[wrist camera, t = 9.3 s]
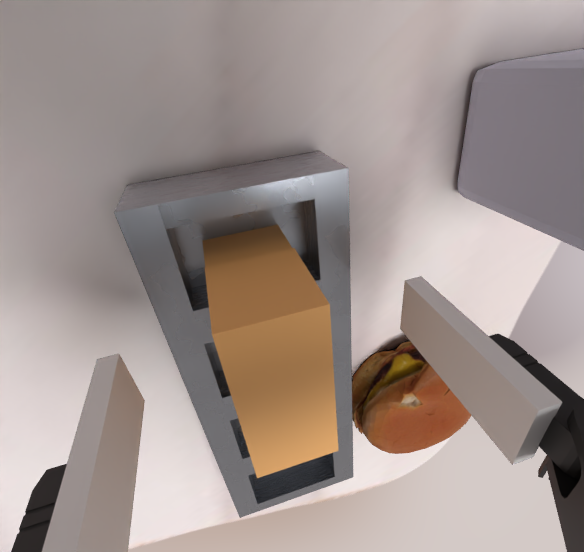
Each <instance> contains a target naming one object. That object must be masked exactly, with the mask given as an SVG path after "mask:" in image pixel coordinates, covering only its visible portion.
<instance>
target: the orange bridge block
mask: <svg viewBox="0 0 584 552" xmlns="http://www.w3.org/2000/svg"><path fill="white" fill-rule="evenodd" d="M202 242H203V251H204V260H205V276H206V285H207V294H208V303H209V312H210V321H211V330H212V336H213V340H214V343H215V346H216V349H217V352H218V355H219V359H220V362H221V365H222V368H223V371H224V374H225V378H226V381H227V384H228V387H229V390H230V394H231V397H232V400H233V403H234V406H235V409H236V413H237V416H238V419H239V422H240V425H241V428H242V432H243V435H244V438H245V441H246V444H247V447H248V451H249V454H250V457H251V460H252V463H253V466H254V470H255V473H256V476H257V478H259V477H262V476H265V475H268V474H271V473H274V472H277V471H280V470H283V469H286V468H289V467H292V466H295V465H298V464H301V463H304V462H307V461H310V460H313V459H316V458H318V457H321V456H324V455H327V454H330V453H333V452H336V451H339V450H338V434H337V417H336V400H335V384H334V367H333V351H332V334H331V317H330V304H329V302H328V301H327V299H326V297H325V296H324V294H323V293H322V291H321V290H320V288H319V286H318V285H317V283H316V282H315V280H314V278H313V277H312V275H311V274H310V272H309V270H308V269H307V267H306V266H305V264H304V262H303V261H302V259H301V258H300V256H299V254H298V253H297V251H296V250H295V248H292V247H291V245H290V244H289V242H288V240H287V239H286V237H285V235H284V234H283V232H282V231H281V229H280V227H279V226H278V225H273V226H268V227H264V228H259V229H254V230H250V231H245V232H240V233H235V234H231V235H226V236H221V237H217V238H212V239H207V240H203V241H202Z"/></svg>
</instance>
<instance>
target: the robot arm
mask: <svg viewBox="0 0 584 552" xmlns="http://www.w3.org/2000/svg"><path fill="white" fill-rule="evenodd" d="M400 329H401V330H402V331H403V333H404V334H405V335H406V336H407V338H408V339H409V340H410V341H411V342H412V344H413V345H414V346H415V347H416V348H417V350H418V351H419V352H420V353H421V355H422V356H423V357H424V358H425V359H426V361H427V362H428V363H429V364H430V365H431V367H432V368H433V369H434V370H435V372H436V373H437V374H438V375H439V376H440V378H441V379H442V380H443V381H444V382H445V384H446V385H447V386H448V387H449V389H450V390H451V391H452V392H453V393H454V395H455V396H456V397H457V398H458V399H459V401H460V402H461V403H462V404H463V406H464V407H465V408H466V409H467V410H468V412H469V413H470V414H471V415H472V416H473V418H474V419H475V420H476V421H477V422H478V424H479V425H480V426H481V427H482V428H483V430H484V431H485V432H486V433H487V435H488V436H489V437H490V438H491V440H492V441H493V442H494V443H495V444H496V445H497V447H498V448H499V449H500V450H501V451H502V453H503V454H504V455H505V457H506V458H507V459H508V460H509V461H510V463H511V464H512V465H513V464H516V463H519V462H521V461H524V460H527V459H529V458H532V457H533V456H534V454H535V453H536V451H537V449H538V447H540V448H541V449H542V450H543V451H544V452H545V453H546V454H547V456H546V458H545V459H544V461H543V463H542V465H541V466H540V468H539V472H538V474H539V475H538V477H542V478H543V476H544V475H545V473H546V471H548V475H549V480H550V483H551V487H552V491H553V495H554V499H555V504H556V508H557V512H558V516H559V520H560V524H561V528H562V532H563V536H564V540H565V544H566V549H567V552H584V399H583V398H582V397H580V396H578V395H577V394H576V393H575V392H574V391H573V390H572V389H570V388H569V387H568V386H567V385H566V384H564V383H563V382H562V381H561V380H560V379H558V378H557V377H556V376H555V375H553V374H552V373H551V372H550V371H549V370H548V369H546V368H545V367H544V366H543V365H542V364H539V363H538V361H537V360H536V359H534V358H533V357H532V356H531V355H530V354H529V355H528V354H527V352H526V351H525V350H524V349H523V348H521V347H520V346H519V345H518V344H516V343H515V342H514V341H512V340H510V339H508V338H506V337H504V336H502V335H500V334H495V335H492V336H488V335H486V334H485V333H484V332H483V331H482V330H481V329H480V328H479V327H477V326H476V325H475V324H474V323H473V322H472V321H471V320H470V319H468V318H467V317H466V316H465V315H464V314H463V313H462V312H461V311H459V310H458V309H457V308H456V307H455V306H454V305H453V304H452V303H450V302H449V301H448V300H447V299H446V298H445V297H444V296H443V295H441V294H440V293H439V292H438V291H437V290H436V289H435V288H434V287H432V286H431V285H430V284H429V283H428V282H427V281H426V280H425V279H423V278H422V277H421V276H420V277H417V278H413V279H409V280H405V285H404V295H403V305H402V315H401V326H400ZM144 401H145V400H144V399H143V397H142V395H141V393H140V391H139V389H138V388H137V386H136V384H135V382H134V380H133V378H132V377H131V375H130V373H129V371H128V369H127V367H126V365H125V364H124V362H123V360H122V358H121V356H120V354H116V355H112V356H108V357H104V358H100V359H97V361H96V365H95V368H94V372H93V375H92V379H91V382H90V386H89V389H88V393H87V396H86V400H85V403H84V407H83V410H82V414H81V417H80V421H79V424H78V427H77V431H76V434H75V438H74V441H73V445H72V448H71V452H70V455H69V459H68V462H67V464H65V465H61V466H58V467H55V468H51V469H48V470H46V472H45V473H44V475H43V476H42V478H41V479H40V481H39V482H38V483H37V485H36V486H35V488H34V489H33V491H32V494H31V497H30V500H29V503H28V505H27V508H26V511H25V512H26V515H25V516H24V517H23V520H22V522H21V525H20V528H19V530H20V532H19V534H17V537H16V540H15V542H14V545H13V548H12V551H11V552H128V545H129V536H130V527H131V518H132V509H133V500H134V491H135V482H136V473H137V464H138V455H139V446H140V437H141V428H142V419H143V410H144Z"/></svg>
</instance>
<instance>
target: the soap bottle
mask: <svg viewBox="0 0 584 552" xmlns="http://www.w3.org/2000/svg"><path fill="white" fill-rule="evenodd" d="M457 186H458V192H459V193H460V194H461V195H462V196H464V197H465V198H467V199H470V200H472V201H474V202H476V203H478V204H481V205H483V206H485V207H487V208H490V209H492V210H494V211H496V212H499V213H501V214H503V215H505V216H507V217H510V218H512V219H514V220H516V221H519V222H521V223H523V224H525V225H528V226H530V227H532V228H534V229H536V230H539V231H541V232H543V233H545V234H548V235H550V236H552V237H554V238H557V239H559V240H561V241H563V242H566V243H568V244H570V245H572V246H575V247H577V248H579V249H581V250H584V49H578V50H572V51H565V52H559V53H552V54H546V55H540V56H533V57H527V58H520V59H514V60H508V61H501V62H498V63H495V64H493V65H490V66H488V67H485V68H483V69H480V70H477V73H476V75H475V77H474V80H473V84H472V91H471V97H470V104H469V110H468V117H467V124H466V130H465V137H464V143H463V150H462V157H461V163H460V170H459V176H458V183H457Z"/></svg>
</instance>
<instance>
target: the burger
mask: <svg viewBox="0 0 584 552" xmlns="http://www.w3.org/2000/svg"><path fill="white" fill-rule="evenodd" d="M470 417H471V414H470V413H469V412H468V410H467V409H466V408H465V407H464V406H463V404H462V403H461V402H460V401H459V399H458V398H457V397H456V396H455V395H454V393H453V392H452V391H451V390H450V389H449V387H448V386H447V385H446V384H445V382H444V381H443V380H442V379H441V378H440V376H439V375H438V374H437V373H436V372H435V370H434V369H433V368H432V367H431V365H430V364H429V363H428V362H427V361H426V359H425V358H424V357H423V356H422V355H421V353H420V352H419V351H418V350H417V348H416V347H415V346H414V345H413V344H412V342H411V341H409V342H404V343H401V344H400V345H399V347H398V348H396V350H395V351H393V350H392V351H382V352H378V353H375V354H374V355H372V356H371V357H369V358H368V359H367V360H366V361H365V362H364V363H363V364H362V365H361V366H360V367H359V369H358V370H357V372H356V373H355V374H354V375H353V381H352V419H353V421H354V422H355V426H356V428H358V429H359V432H361V434H362V432H363V433H364V434H365V436H366V437H367V439H368V440H369V442H370V443H371V444H372V445H374V446H375V447H377V448H379V449H380V450H382V451H385V452H388V453H395V454H398V453H410V452H414V451H417V450H421V449H425V448H428V447H430V446H432V445H435V444H437V443H439V442H441V441H443V440H445V439H447V438H449V437H450V436H452V435H453V434H454V433H455V432H456V431H458V430H459V429H460V428H461V427H462V426H463V425H464V424H466V422H467V421H468V419H469V418H470Z"/></svg>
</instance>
